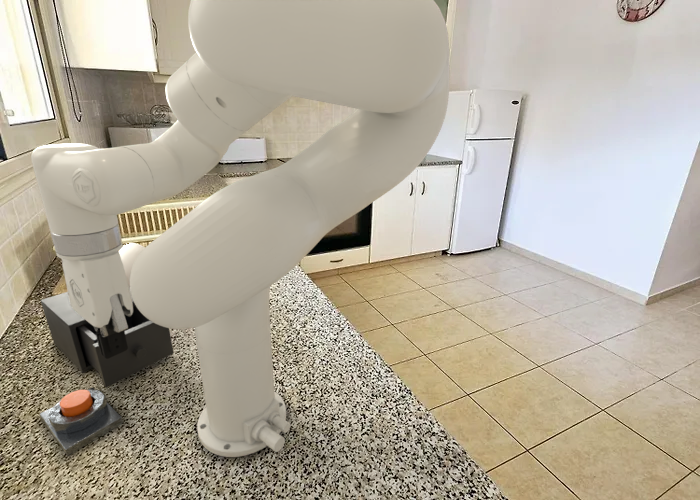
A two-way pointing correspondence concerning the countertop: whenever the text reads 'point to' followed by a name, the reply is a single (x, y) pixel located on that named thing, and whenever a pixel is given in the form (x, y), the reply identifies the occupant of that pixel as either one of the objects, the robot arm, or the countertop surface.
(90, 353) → the dark grey drawer
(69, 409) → the button
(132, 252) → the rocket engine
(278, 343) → the countertop surface
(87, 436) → the control block
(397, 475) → the countertop surface
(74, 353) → the grey drawer box
